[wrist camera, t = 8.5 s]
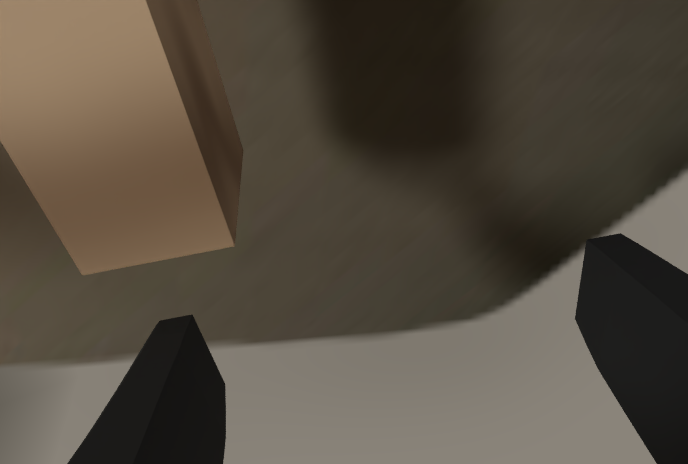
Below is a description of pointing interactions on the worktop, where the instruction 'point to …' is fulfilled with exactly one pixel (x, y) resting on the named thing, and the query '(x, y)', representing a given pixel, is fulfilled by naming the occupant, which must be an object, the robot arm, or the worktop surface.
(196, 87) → the walnut bar
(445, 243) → the worktop surface
